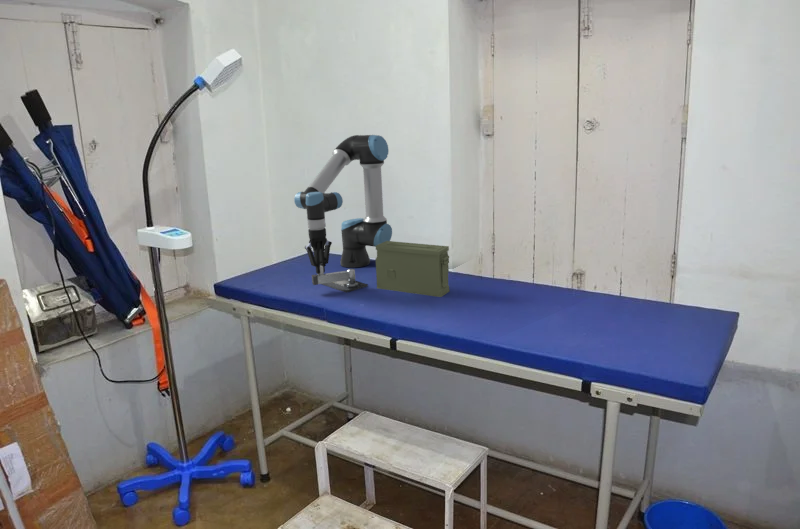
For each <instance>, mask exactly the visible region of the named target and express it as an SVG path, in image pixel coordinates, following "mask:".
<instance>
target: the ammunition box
mask: <svg viewBox="0 0 800 529" xmlns="http://www.w3.org/2000/svg"><path fill="white" fill-rule="evenodd" d="M375 250H376V257H375V271H376V272H375V273H376V289H378V290H386V291H393V292H400V293H401V292H402V293H407V294H416V295H422V296H423V295H424V296H430V297H438V298H442V297H444V296H445V295H446V294H448V293H449V292H451V291H450V285H449V269H450V268H449V263H450V260H449V259H450V255H449V254H448V252H449V251H450V246H449V245H438V244H437V245H436V244H427V243H426V244H425V243H414V242H403V241H394V240H390V241H385V242H383V243H381V244H378V245H376V247H375Z"/></svg>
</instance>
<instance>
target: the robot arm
mask: <svg viewBox="0 0 800 529" xmlns="http://www.w3.org/2000/svg"><path fill="white" fill-rule="evenodd" d="M388 155H389V145H388V142H387V141H386V139H385V138H384V137H383V136H382V135H377V134H364V135H363V134H362V135H361V134H360V135H359V134H356V135H351V136H349V137H347V138H345V139H344V140H343V141H342V142H340V143H339V144H338V145H337V146H336V148H334V150H333V151H332V156H331V157H330V158H329V159H328V161H327V162H326V163H325V165H323V167H322V169H321V170H320V171H319V173H317V175H316V176H315V177H314V179H313V180H312V181H311V182H310V184H309V185H308V186H307V187H306V189H305V190H304V191H299V192H296V193H295V195H294V198H293V199H294V200H293V201H294V204H295V206H296V207H297V208H298V209H303V210H306V215H307V216H306V219H307V227H308V230H307V231H308V232H307V233H308V238H309V240H308V244H307V245H304V249H305V250H306V253H307V255H308V259H309V261H310V264H311V266H312V267H315V273H316V275H319V274H325V271H326V270H325V269H326V266H327V264H329V259H330V251H331V247H332V244H333V242H332V241H329V240H328V239H327V229H326V227H327V226H326V218H325V217H326V215H325V214H326V213H327V212H331V211H335V210H338V209H340V208H341V207H342V205H343V202H344V200H343V197H342V195H341V194H340V193H339V192H335V191H334V192H329V193H328V192H327V190H328V189H329V188H330V187H331V185H332V183H333V182H334V181H335V180H336V179H337V177H338V176H339V174H340V173H341V172H342V170H343V169H344V168H345V166H348V165H350V163H351V162H352V161H356V160H358V161H359V165H360V166H361V167H362V168H363V171H362V172H363V185H364V188H363V189H364V205H365V217H364V218H363V217H362V218H361V217H360V218H359V217H357V218H352V219H347V220H343V222H341V226H340V228H341V229H340V230H341V242H342V253H341V256H340V257H341V258H340V266H341V267H344V268H349V269H355V268H361V267H365V266H368V265H370V264H371V259H370V256H369V254H368V251H367V248H366V247H373V248H374V247H375V248H376V245H378V244H381V243H383V242H385V241H392V236H393V227H392V225H391V224H389V223H387V222H388V220H387V218H386V217H385V216H384V202H383V201H384V200H383V183H382V181H383V180H382V177H383V176H382V166H383V165H384V164H385V160H386V159H387V158H388ZM326 192H327V193H326Z"/></svg>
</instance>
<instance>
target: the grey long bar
mask: <svg viewBox="0 0 800 529" xmlns="http://www.w3.org/2000/svg"><path fill="white" fill-rule="evenodd" d="M344 280H348V283H350V284H352V283H355V282H356V281H357V280H356V269H355V268H348V269H347V270H343V271H342V270H341V271H334V272H328V273H327V272H326V273H324V274H319V275H318V274H311V282H312V286H316V285H322V284H323V283H330V282H337V281H344Z"/></svg>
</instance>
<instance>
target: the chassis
mask: <svg viewBox="0 0 800 529" xmlns="http://www.w3.org/2000/svg"><path fill="white" fill-rule="evenodd" d="M355 281H356V282H355V283H352V284H350V283H348V280H344V281H337V282H330V283H323V284H321V285H323V286H325V287H329V288H332V289H334V290H336V291H340V292H342V293H347V294H348V293H350V292H354V291H357V290H360V289H365V288H367V287H368V283H365V282H361V281H358V280H355Z"/></svg>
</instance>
